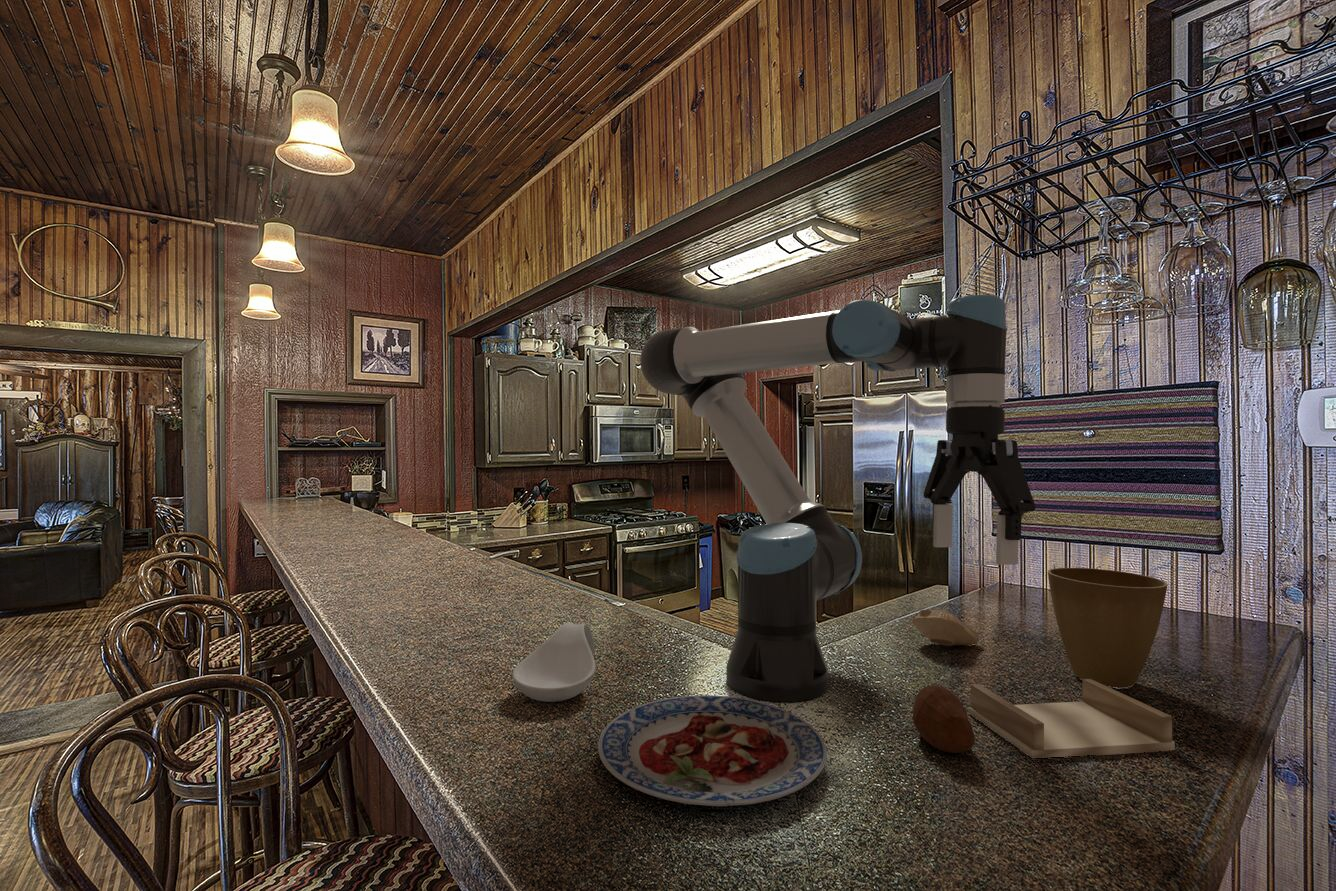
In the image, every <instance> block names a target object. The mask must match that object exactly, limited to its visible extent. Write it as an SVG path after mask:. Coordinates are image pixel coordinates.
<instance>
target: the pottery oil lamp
mask: <svg viewBox="0 0 1336 891" xmlns="http://www.w3.org/2000/svg"><path fill="white" fill-rule="evenodd" d="M911 622H912V625H913V626H914V627H915V628H916V629H917V631H918V632H919V633H920V634H922V635H923V636H924V637H925V638H927V639H928V640H929V641H930V642H932V643H934V644H937V645H942V646H946V647H949V646H950V647H951V646H952V647H953V646H961V645H972V644H975V645H977V644H978V643H980V641H981V639H980V637H979V633H978V632H977V631H975V630H974V629H972V628H971V627H970V626H967V625H966V624H965V623H963V622H962V621H961V620H960V619H959V618H958V617H957V616H956V615H955V614H954V613H952V612H950V611H947V610H943V609H933V610H931V609H921V610H919V614H917V615H916V616H915V617H914V618H912V620H911ZM976 643H977V644H976Z"/></svg>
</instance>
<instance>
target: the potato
mask: <svg viewBox="0 0 1336 891" xmlns="http://www.w3.org/2000/svg"><path fill="white" fill-rule="evenodd" d="M968 716H969V715H968V713H967V710H966V708H965V707H964V704H963V703H962V701H961V699H960V697H959V696H958V695H956V694H955V693H953V692H952V691H951V690H950V689H948V688H947V687H945V686H941V685H938V684H937V685H936V684H933V685H932V684H931V685H930V684H929V685H926V686H924V687H922V688H921V689H920V690H919V691H918V692H917V694H916V696H915V698H914V702H913V708H912V718H913V725H914V728H915V729H916V730H917V732H918V733H919V735H920V736H921V738H922V739H923V740H924V741H925V742H926V743H928V745H931V746H932V747H933V748H935V749H936V748H937V749H936V750H938V751H942V752H945V753H950V754H951V753H952V754H960V753H963V752H967V751H969V750H971V749H972V748H973V747H974V744H975V738H976V736H975V732H974V729H973V727H972V725H971V722H970V720H969V717H968Z"/></svg>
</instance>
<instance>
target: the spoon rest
mask: <svg viewBox="0 0 1336 891" xmlns="http://www.w3.org/2000/svg"><path fill="white" fill-rule="evenodd" d="M595 645H596V644H595V641H594V637H593V634H592V631H591V628H590V627H589V624H587V623H585V622H583V623H578V624H576V623H572V622H565V623H563V624H562V625H561V626H560V627H559V628H557V630H556V631H555V632H554V633H553V634H552V635H550V636H549V637H548V638H547V639H545V641H544V642H542V643H541V644H540V645H539V646H538V647H536V648H535V649H534V650H533V651H532V652H530V654H528V655H527V656H526V657H524V659H523V660H521V661H520V662H519V663H518V664H517V665H516V666H515V668H514V669H513V671H512V674H511V676H512V677H511V678H512V682H513V683H514V685H515V686H516V687H517V689H518V690H519V691H520V692H521V693H522V694H523V695H525V696H526V697H528V698H530V699H532V700H534V701H535V700H536V701H538V702H543V703H558V702H557V701H559V702H563V700H564V701H567V699H568V700H570V699H572V698H575V697H577V696H578V695H579V694H581V693H582V692H583V691H584V690H585V689H587V687H588V686H589V685H590V684H591V682H592V680H593V678H594V676H595V674H596V662H595V660H596V659H595V657H594V655H595V654H596V646H595ZM593 654H594V655H593Z"/></svg>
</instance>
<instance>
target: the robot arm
mask: <svg viewBox="0 0 1336 891" xmlns="http://www.w3.org/2000/svg"><path fill="white" fill-rule="evenodd" d="M1007 332H1008V327H1007V318H1006V303H1005V300H1003V299H1002V298H1001V297H1000V296H996V295H992V294H973V295H972V294H970V295H964V296H961V297H956V298H954V299H952V300H950V301H949V303H948V305H947V310H946V313H945V314H942V315H938V316H937V315H936V316H929V317H919V318H910V317H908V316H906V315H904V314H901V313H900V312H898V311H896V310H894V309H892V308H890V307H889V306H888V305H886V304H884V303H883V302H879V301H875V300H870V299H857V300H853V301H851V302H849V303H847V304H846V305H844V306H843V307H842V308H841V309H839V310H837V309H836V310H832V311H826V312H819V313H812V314H811V313H810V314H805V315H799V316H798V315H797V316H793V317H786V318H779V319H771V320H766V321H759V322H751V323H745V324H739V325H732V326H726V327H720V328H711V329H706V330H699V329H697V328H696V327H693V326H686V327H678V328H671V329H665V330H661V331H658V332H656V333H655V334H653V336H650V338H649V339H647V341H646V343H645V344H644V345H643V348H642V349H641V353H640V358H639V360H640V361H639V362H640V370H641V372H642V375H643V377H644V379H645V381H646V382H647V383H648V384H649V385H650V386H651V387H652V388H653V389H655V390H657V391H659V392H661V393H664V394H669V395H676V396H682V398H684V400H685V402H686V404H687V405H688V407H689V408H690V410H691V412H692V414H693V415H694V416H695V417H698V418H704V419H705V420H706V423H707V424H708V426H709V427H710V429H711V431H712V432H713V434H714V436H715V438H716V439H717V440H718V443H719V444H720V446H721V448H722V449H723V452H724V453H725V455H726V457H727V458H728V460H729V462H730V463H731V466H732V467H733V469H734V470H735V472H736V474H737V475H738V478H739V479H740V480H741V482H742V484H743V486H744V487H745V489H746V490H747V492H748V494H749V496H750V498H751V500H752V502H753V504H754V505H755V507H756V508H757V509H758V511H759V513H760V515H761V517H762V518H763V520H764V522H765V524H759V525H756V526H752V527H750V528H748V529H746V530H744V531H743V532H742V533H741V534H740V536H739V539H738V548H737V553H736V563H737V631H736V635H735V638H734V641H733V645H732V648H731V649H730V653H729V657H728V660H727V663H726V683H727V685H728V686H729V687H730V688H731V689H732V690H733V691H736V692H737V693H738V694H739V693H740V694H741V695H744V696H747V697H751V698H753V699H758V700H763V701H768V702H769V701H771V702H786V703H787V702H791V703H792V702H800V701H802V702H803V701H808V700H812V699H815V698H817V697H820V696H822V695H824V694H825V693H826V692H827V691H828V689H829V671H828V667H827V664H826V660H825V657H824V654H823V651H822V649H821V645H820V642H819V639H818V636H817V602H818V601H821V600H823V599H825V598H827V597H830V596H831V597H832V596H836V595H838V594H840V593H841V592H843V591H845V590H846V589H847V588H848V587H850V586H851V585H852V584H853V583H854V582H855V581H856V579H857V578H858V576H859V575H860V572H861V569H862V565H863V564H862V563H863V552H862V548H861V545H860V543H859V541H858V538H857V537H856V536H855V534H854V533H853V531H851V530H849V529H848V528H847V527H846V526H843V525H841V524H839V523H836V522H835V521H834V519H833V518H832V516H831V515H830V513H829V511H828V509H827V507H826V506H825V505H824V504H822V503H819V502H814V501H811V499H810V497H809V496H808V495H807V493H806V492H805V490H804V488H803V487H802V485H801V484H800V481H799V480H798V479H797V477H796V475H795V474H794V472H793V470H792V469H791V467H790V466H789V464H788V463H787V461H786V460H785V458H784V456H783V454H782V452H781V451H780V450H779V448H778V446H777V445H776V443H775V441H774V440H773V438H772V437H771V435H770V433H769V432H768V430H767V429H766V427H765V426H764V424H763V423H762V421H761V419H760V418H759V416H758V414H757V413H756V411H755V409H754V408H753V406H752V405H751V403H750V402H749V400H748V398H747V396H746V395H745V393H746V390H747V386H748V384H747V381H746V380H745V377H744V373H750V372H751V373H752V372H762V371H771V370H782V369H783V370H784V369H792V368H793V369H795V368H803V367H811V366H820V365H821V366H823V365H830V364H831V365H832V364H847V363H848V364H849V363H859V362H864V363H865V364H866V366H867V368H868V369H869V370H871V371H875V372H876V371H879V372H880V371H881V372H882V371H884V372H885V371H886V372H887V371H888V372H895V371H902V370H914V369H926V368H928V369H929V368H943V367H944V368H945V367H946V390H945V392H946V393H945V403H946V404H947V405H949V406H950V407H947V409H946V410H945V431H946V433H948V434H951V435H952V439H939V440H937V443H936V454H935V457H934V460H933V464H932V466H931V469H930V472H929V476H928V479H927V482H926V484H925V487H924V491H923V498H924V499H928V500H930V503H931V504H932V523H933V537H932V538H933V539H932V540H933V542H932V543H933V544H932V547H934V548H953V517H954V514H953V513H954V512H953V511H954V507H953V506H954V504H953V501H952V498H953V495H954V494H955V492H956V491H957V489H958V488H959V486H960V484H961V482H962V481H963V479H964V478H965V476H966V474H969V473H970V472H971V473H973V472H974V473H975V472H976V473H977V474H978V475H980V476H981V477H982V478H983V479H984V482H985V483H986V485H987V487H988V489H989V491H990V493H991V495H992V496H993V498H994V500H995V501H996V504H997V506H998V508H999V509H1000V510H999V511H998V512H997V514H996V541H995V542H996V550H995V553H996V554H995V564H996V565H1000V566H1005V565H1006V566H1007V565H1008V566H1009V565H1012V566H1013V565H1018V564H1019V543H1020V542H1019V541H1020V540H1021V538H1022V517H1023V516H1024V514H1026V513H1030V512H1031V513H1033V512H1035V510H1036V503H1035V501H1034V498H1033V496H1032V492H1031V490H1030V486H1029V484H1028V481H1027V478H1026V475H1025V473H1024V470H1023V467H1022V464H1021V460H1020V457H1019V451H1018V449H1019V448H1018V441H1016V439H999V435H1001V434H1003V433H1004V432H1005V425H1006V424H1005V420H1006V419H1005V417H1006V416H1005V413H1006V410H1005V409H1004V407H1000V405H1002V404H1004V403H1005V401H1006V400H1005V399H1006V398H1005V396H1006V389H1005V388H1006V352H1007V351H1006V350H1007Z"/></svg>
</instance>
